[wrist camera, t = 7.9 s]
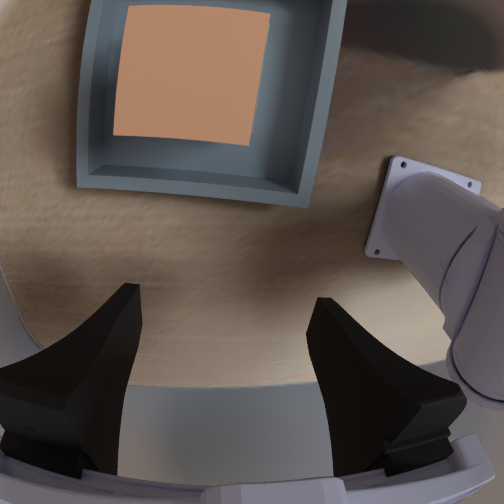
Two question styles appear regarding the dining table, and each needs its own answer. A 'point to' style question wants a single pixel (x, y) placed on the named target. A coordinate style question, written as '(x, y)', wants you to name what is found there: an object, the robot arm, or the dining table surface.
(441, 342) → the dining table surface
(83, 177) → the tote
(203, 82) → the carton
